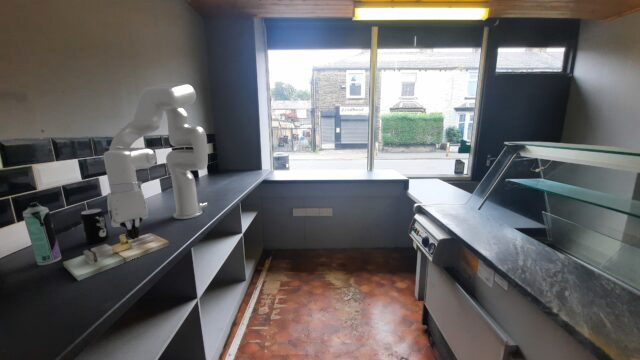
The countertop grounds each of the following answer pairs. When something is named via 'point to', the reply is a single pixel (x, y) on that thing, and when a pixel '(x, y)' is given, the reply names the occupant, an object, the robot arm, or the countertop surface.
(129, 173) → the robot arm
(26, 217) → the spray can
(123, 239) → the bolt
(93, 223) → the beverage can
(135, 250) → the latch board
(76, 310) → the countertop surface
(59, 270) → the countertop surface
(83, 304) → the countertop surface
